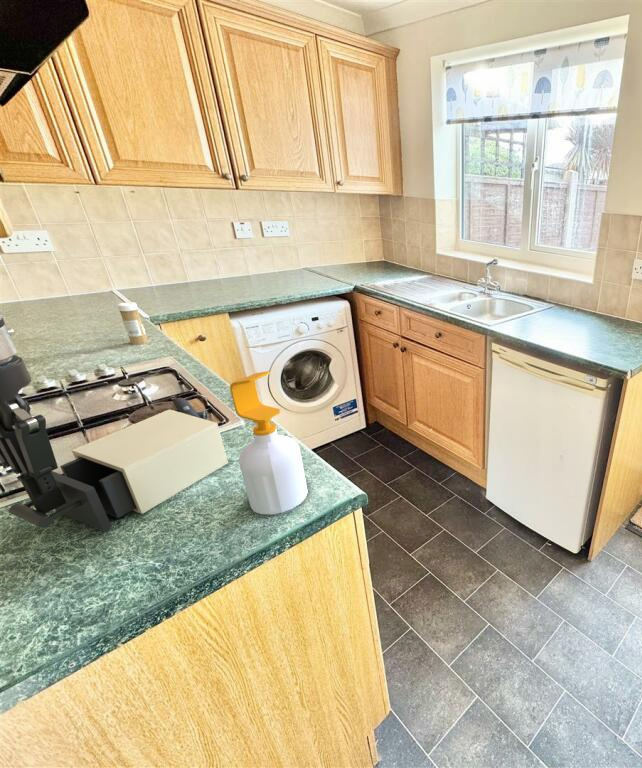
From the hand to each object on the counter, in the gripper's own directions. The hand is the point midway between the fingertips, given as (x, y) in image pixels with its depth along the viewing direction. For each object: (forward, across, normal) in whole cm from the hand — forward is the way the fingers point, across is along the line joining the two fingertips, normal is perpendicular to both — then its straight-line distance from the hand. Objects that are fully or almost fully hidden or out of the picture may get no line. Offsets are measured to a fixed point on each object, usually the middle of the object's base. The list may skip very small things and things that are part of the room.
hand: (52, 507), depth 63 cm
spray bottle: (+6, -23, -19) cm, 30 cm away
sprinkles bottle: (+6, +75, -59) cm, 95 cm away
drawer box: (+5, 0, -15) cm, 16 cm away
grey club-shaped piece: (+6, +14, -30) cm, 34 cm away
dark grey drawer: (+5, 0, -7) cm, 8 cm away
